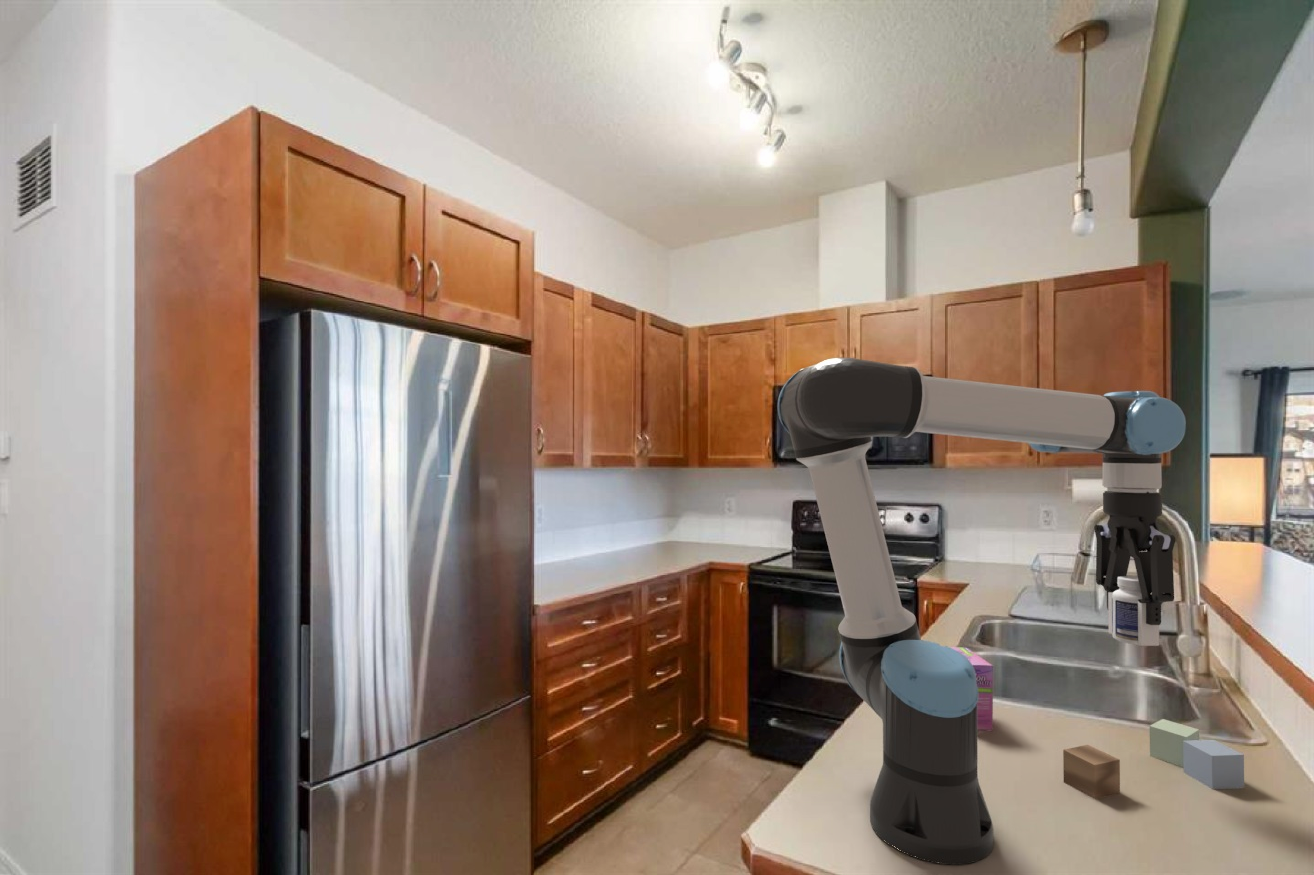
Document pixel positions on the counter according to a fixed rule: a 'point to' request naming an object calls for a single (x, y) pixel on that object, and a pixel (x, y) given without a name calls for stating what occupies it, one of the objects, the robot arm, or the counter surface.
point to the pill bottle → (1126, 610)
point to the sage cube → (1170, 740)
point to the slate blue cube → (1213, 764)
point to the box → (981, 688)
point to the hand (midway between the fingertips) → (1133, 638)
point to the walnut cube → (1091, 771)
